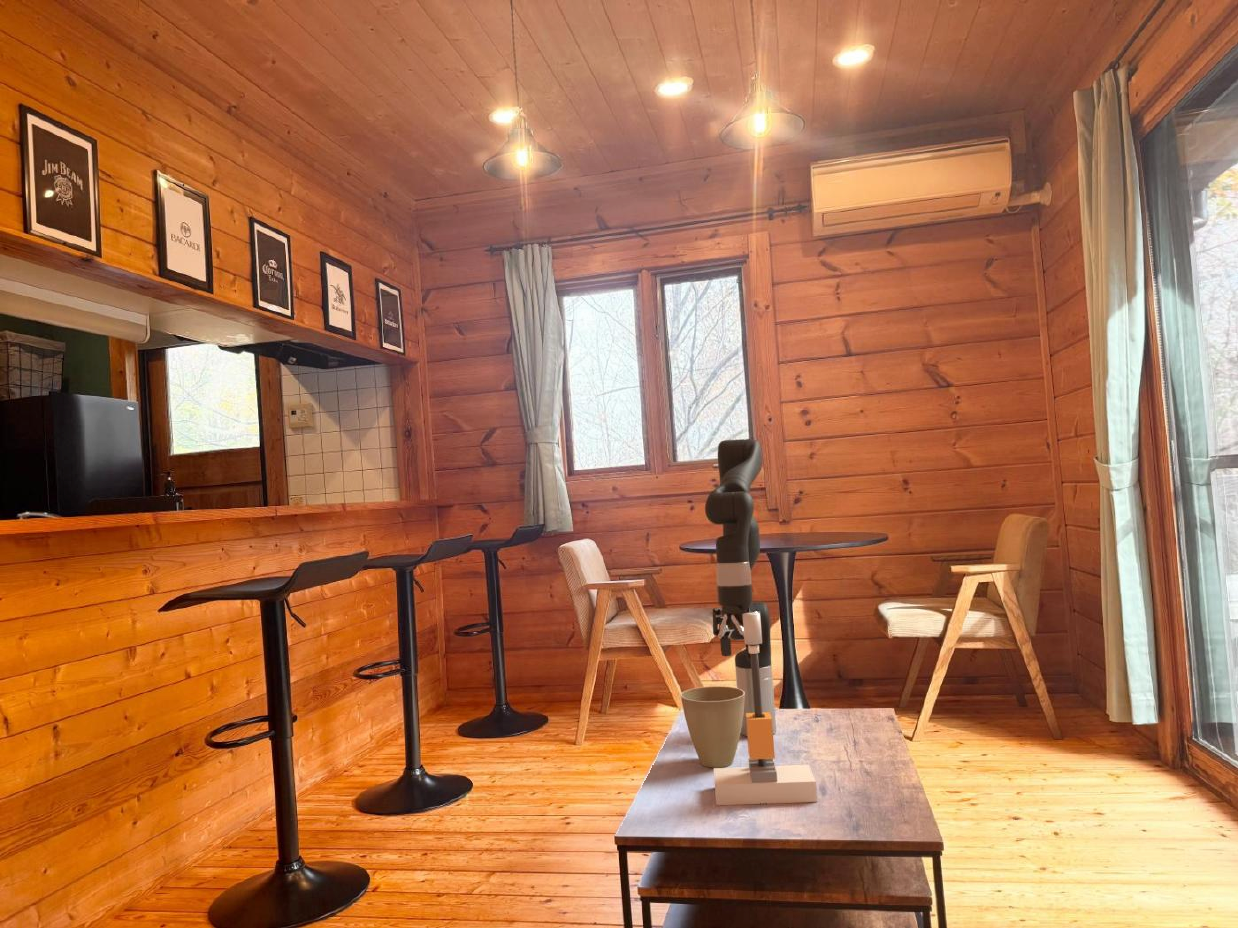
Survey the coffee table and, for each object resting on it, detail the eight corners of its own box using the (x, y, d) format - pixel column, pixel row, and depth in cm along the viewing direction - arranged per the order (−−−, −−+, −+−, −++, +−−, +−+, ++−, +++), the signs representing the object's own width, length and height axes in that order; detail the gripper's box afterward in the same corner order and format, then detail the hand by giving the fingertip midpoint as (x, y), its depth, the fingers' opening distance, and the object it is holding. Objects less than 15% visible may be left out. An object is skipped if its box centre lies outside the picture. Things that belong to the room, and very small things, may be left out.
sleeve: (748, 751, 175) (745, 713, 175) (772, 750, 175) (769, 712, 175) (750, 759, 170) (747, 719, 170) (774, 758, 170) (772, 718, 170)
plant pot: (748, 773, 185) (743, 700, 186) (681, 773, 188) (676, 702, 188) (751, 751, 200) (746, 684, 200) (689, 752, 203) (684, 685, 203)
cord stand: (714, 787, 178) (702, 612, 179) (810, 783, 176) (797, 607, 177) (716, 805, 168) (703, 620, 169) (817, 801, 166) (803, 614, 167)
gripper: (768, 582, 179) (773, 659, 178) (727, 580, 191) (731, 652, 190) (741, 585, 175) (746, 664, 174) (701, 583, 188) (705, 656, 186)
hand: (738, 657), depth 182 cm, fingers open, 8 cm apart
